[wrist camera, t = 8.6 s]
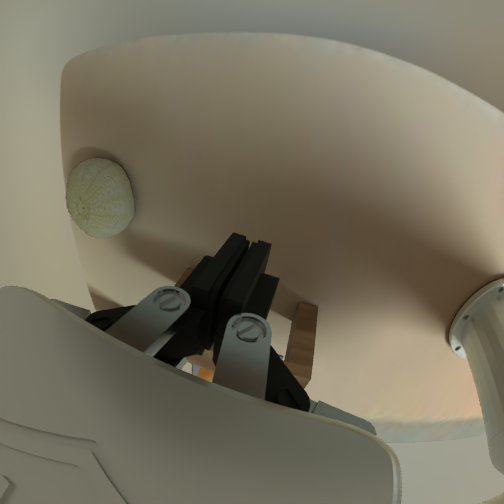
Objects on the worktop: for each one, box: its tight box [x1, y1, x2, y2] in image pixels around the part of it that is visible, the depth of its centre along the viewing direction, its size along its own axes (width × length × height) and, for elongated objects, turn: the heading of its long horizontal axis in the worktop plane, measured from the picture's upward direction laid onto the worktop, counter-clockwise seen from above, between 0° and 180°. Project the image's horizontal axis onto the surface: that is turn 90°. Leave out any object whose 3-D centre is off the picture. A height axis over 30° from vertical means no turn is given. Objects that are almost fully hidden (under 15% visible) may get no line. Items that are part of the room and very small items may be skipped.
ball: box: [197, 367, 214, 382], centre depth 34 cm, size 6×6×6 cm
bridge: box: [174, 269, 318, 389], centre depth 25 cm, size 3×14×9 cm, turn 79°
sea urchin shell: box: [66, 158, 135, 238], centre depth 25 cm, size 9×8×8 cm
